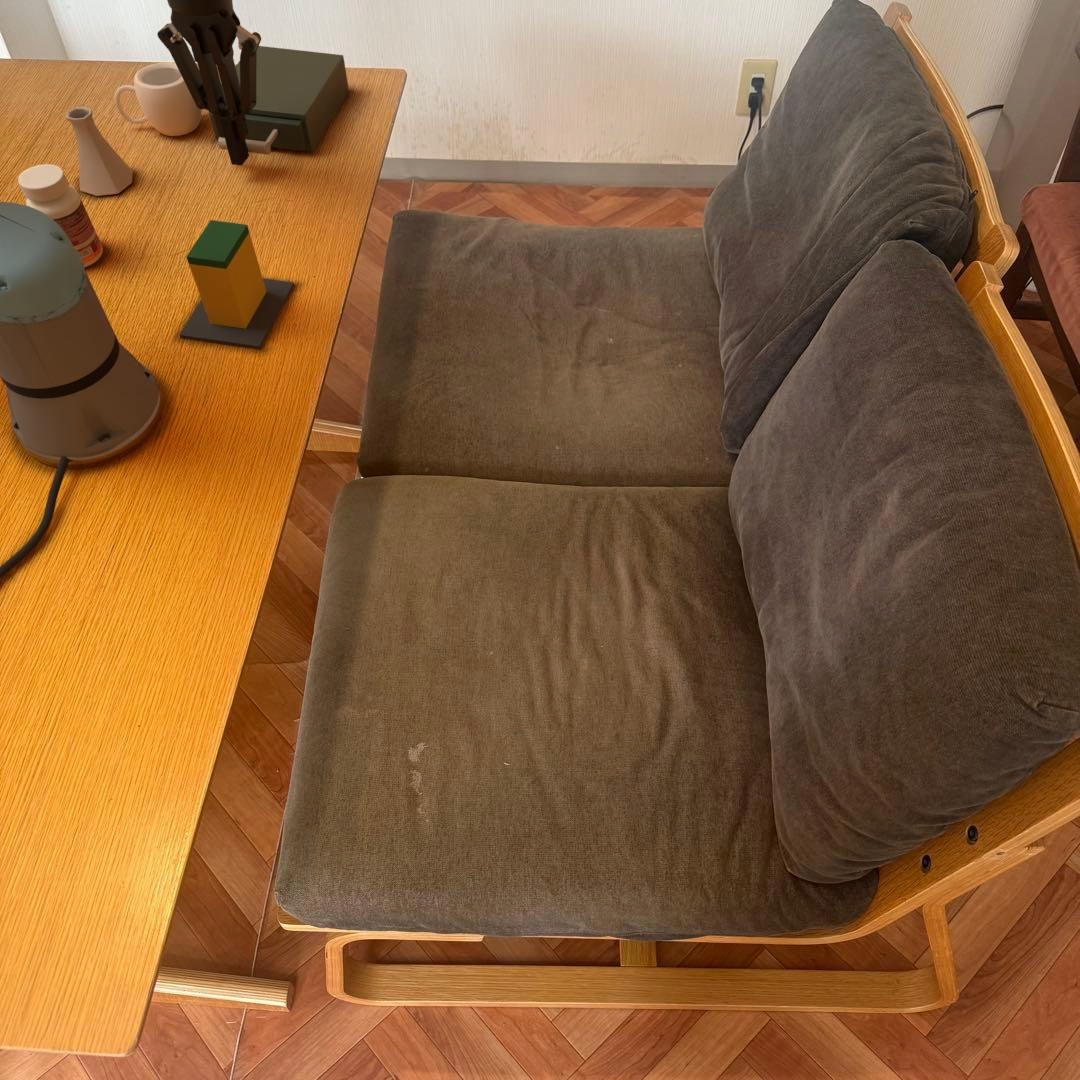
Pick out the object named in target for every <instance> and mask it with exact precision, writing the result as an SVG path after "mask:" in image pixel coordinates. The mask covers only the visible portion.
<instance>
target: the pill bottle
mask: <svg viewBox="0 0 1080 1080" xmlns="http://www.w3.org/2000/svg"><path fill="white" fill-rule="evenodd" d="M17 182H18V185H19V187H20V189H21V191H22V193H23V195H24V197H25V198H26V200H25V205H26V206H29V207H32V208H34V209H37V210H39V211H41V212H43V213H44V214H46V215H48V216H49V217H50V218H52V219H53V220H54V221H55V222H56V223H57V224H58V225H59V226H60V227H61V228H62V229H63V231H64V232H65V233H66V235H67V237H68V238H69V240H70V241H71V243H72V245H73V246H74V248H75V249H76V250H77V252H78V253H79V255H80V256H81V258H82V261H83V264H84V268H87V267H89V266H91V265H93V264H95V263H96V262H97V261H98V260H99V259H101V257H102V256H103V251H104V248H103V244H102V242H101V240H100V238H99V235H98V234H97V231H96V230H95V227H94V224H93V222H92V220H91V219H90V216H89V214H88V211H87V210H86V209H87V208H86V207H85V205H84V203H83V200H82V197H81V196H80V194H79V192H78V191H77V190H76V189H75V188H74V187H73V186H71V185H70V182H69V181H68V178H67V176H66V174H65V172H64V171H63V169H62V168H61V167H60V166H58V165H55V164H52V163H51V164H49V163H47V164H46V163H45V164H37V165H34V166H31V167H29V168H26V169H24V170H23V171H22V172H21V173H20V174H19V176H18V177H17Z"/></svg>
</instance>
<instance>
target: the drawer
mask: <svg viewBox="0 0 1080 1080" xmlns="http://www.w3.org/2000/svg"><path fill="white" fill-rule="evenodd" d="M208 116H209V120H210V123H211V127H212V130H213V133H214V137H215V140H216V141H217V140H218V141H217V143H218V147H219V149H221V150H226V151H228V149H227V145H226V141H225V138H221V137H220V136H219V134H218V131H217V127H216V124H215V120H214V116H213V115H212V113H210V114H209V113H208ZM245 117H246V121H247V125H248V130H249V135H248V136H247V138H246V139H245V140H246V144H247V148H248V153H252V154H260V155H270V154H271V149H272V148H274V147H281V148H280V149H282V148H289V149H288V150H290V149H297V150H296V151H299V150H305V148H306V147H307V144H306V139H305V134H304V129H303V124H302V121H301V120H299V119H291V118H282V117H274V116H265V115H257V114H247V115H246V114H245ZM270 146H273V147H270Z"/></svg>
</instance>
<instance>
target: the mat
mask: <svg viewBox="0 0 1080 1080" xmlns="http://www.w3.org/2000/svg"><path fill="white" fill-rule="evenodd" d="M262 278H263V281H264V285H265V288H266V294H265V295H264V297H263V299H262V301H261V302H260V304H259V306H258V308H257V310H256V311H255V313H254V315H253V317H252V318H251V320H250V322H249V324H248V325H247V327H246V329H244V328H237V327H230V326H223V325H216V324H210V322H209V319H208V316H207V313H206V310H205V308H204V305H203V302H202V299H201V298H200V301H199V303H198V304H197V305H196V307H195V308H194V311H193V312H192V314H191V315H190V317H189V318H188V320H187V322H186V323H185V325H184V326H183V328H182V330H181V331H180V333H179V338H180V339H186V340H193V341H201V342H206V343H214V344H220V345H226V346H228V345H229V346H234V347H241V348H247V349H255V350H261V349H262V347H263V345H264V343H265V341H266V339H268V338H267V337H268V336H269V334H270V332H271V330H272V328H273V327H274V325H275V323H276V321H277V319H278V318H279V315H280V314H281V312H282V310H283V308H284V306H285V304H286V302H287V301H288V299H289V297H290V295H291V293H292V292H293V290H294V288H295V285H296V284H295V282H293V281H286V280H280V279H279V280H278V279H272V278H264V277H262Z"/></svg>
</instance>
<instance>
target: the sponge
mask: <svg viewBox="0 0 1080 1080" xmlns="http://www.w3.org/2000/svg"><path fill="white" fill-rule="evenodd" d="M186 261H187V263H188V266H189V269H190V272H191V274H192V277H193V280H194V282H195V285H196V289H197V291H198V293H199V297H200V300H201V299H202V302H203V305H204V308H205V310H206V313H207V316H208V319H209V322H210V324H216V325H223V326H230V327H237V328H244V329H246V327H247V325H248V324H249V322H250V320H251V318H252V317H253V315H254V313H255V311H256V310H257V308H258V306H259V304H260V302H261V301H262V299H263V297H264V295H265V294H266V288H265V285H264V281H263V278H264V277H263V275H262V271H261V267H260V264H259V260H258V256H257V254H256V250H255V247H254V243H253V239H252V235H251V233H250V229H249V225H248V224H245V223H238V222H237V223H236V222H228V221H221V220H216V219H215V220H214V219H211V220H209V222H208V223H207V225H206V226H205V227H204V229H203V231H202V232H201V234H200V235H199V237H198V238H197V239H196V240H195V242H194V244H193V245H192V247H191V249H190V250H189V252H188V253H187V255H186Z"/></svg>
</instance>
